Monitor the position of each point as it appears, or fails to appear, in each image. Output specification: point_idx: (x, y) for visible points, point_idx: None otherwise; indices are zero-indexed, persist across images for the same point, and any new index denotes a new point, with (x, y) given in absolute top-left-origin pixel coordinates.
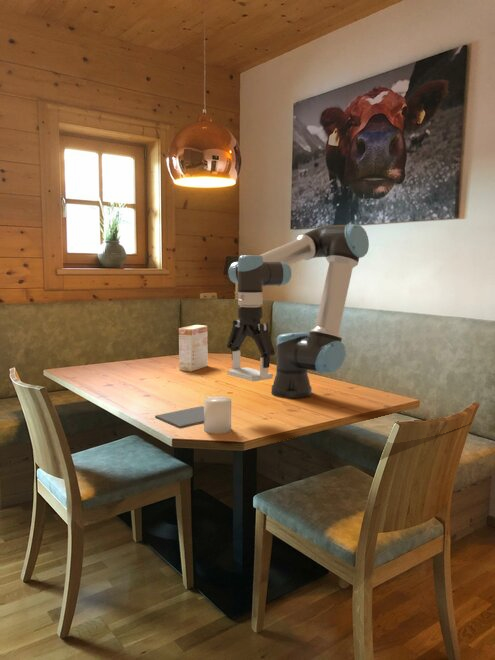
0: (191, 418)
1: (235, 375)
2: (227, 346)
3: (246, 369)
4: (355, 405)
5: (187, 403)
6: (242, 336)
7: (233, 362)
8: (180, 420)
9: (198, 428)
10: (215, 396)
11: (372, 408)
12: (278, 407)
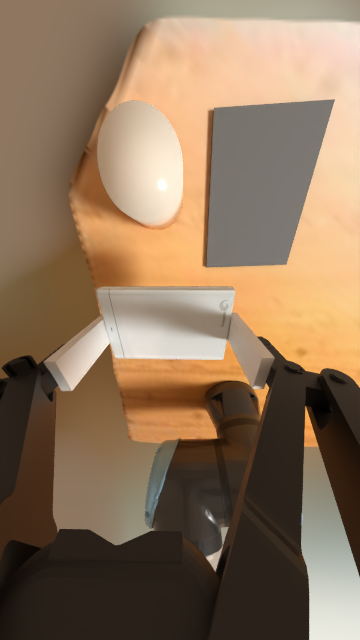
0: (240, 184)
1: (187, 286)
2: (341, 374)
3: (199, 341)
4: (148, 408)
5: (329, 259)
6: (238, 506)
7: (242, 327)
8: (247, 145)
9: (183, 161)
10: (177, 191)
11: (130, 411)
12: None
